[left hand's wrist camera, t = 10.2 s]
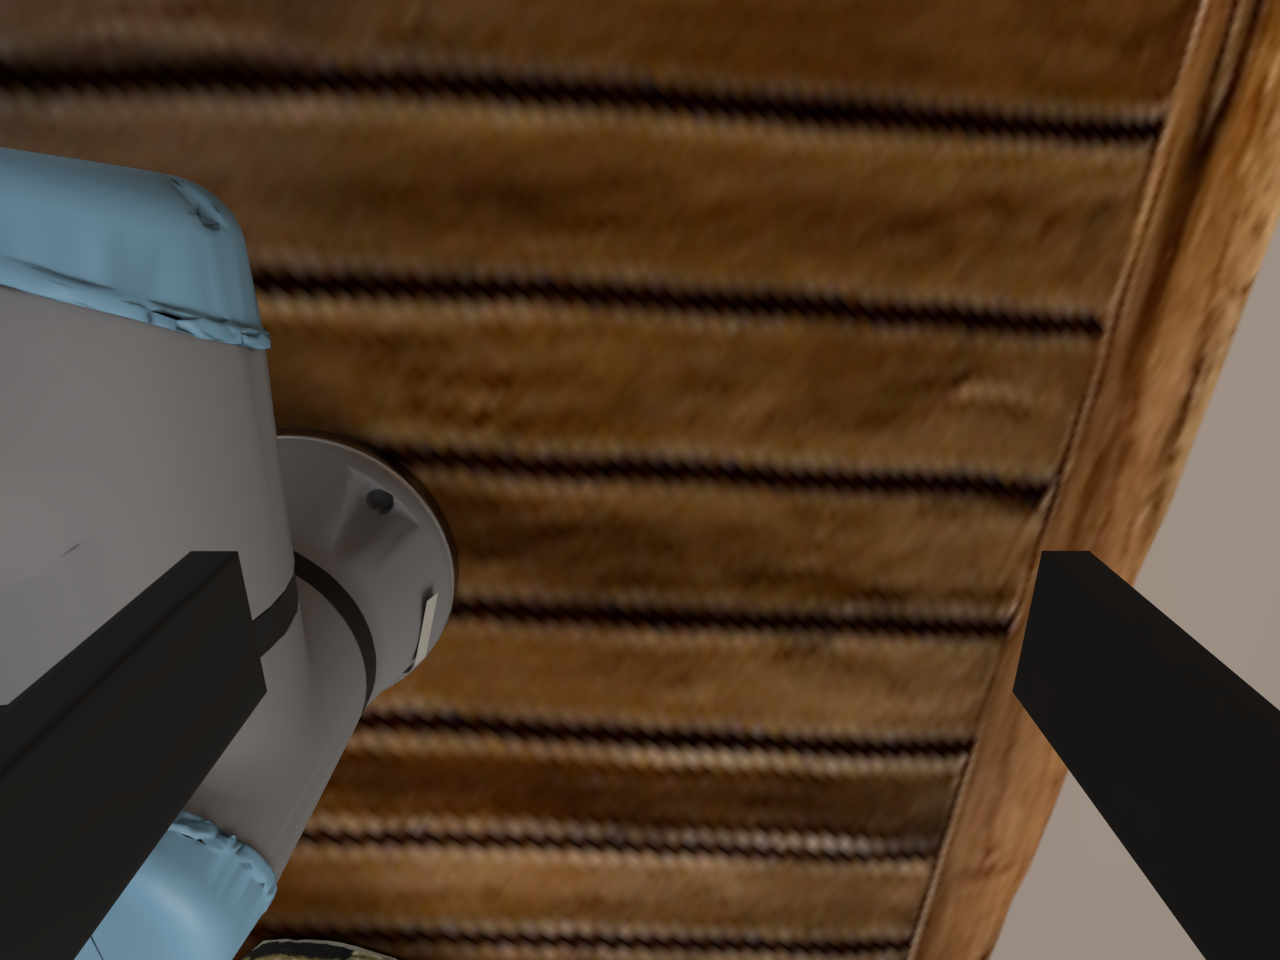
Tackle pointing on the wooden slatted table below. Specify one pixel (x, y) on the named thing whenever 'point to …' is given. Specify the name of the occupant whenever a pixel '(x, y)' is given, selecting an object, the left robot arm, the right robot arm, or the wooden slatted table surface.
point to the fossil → (310, 951)
